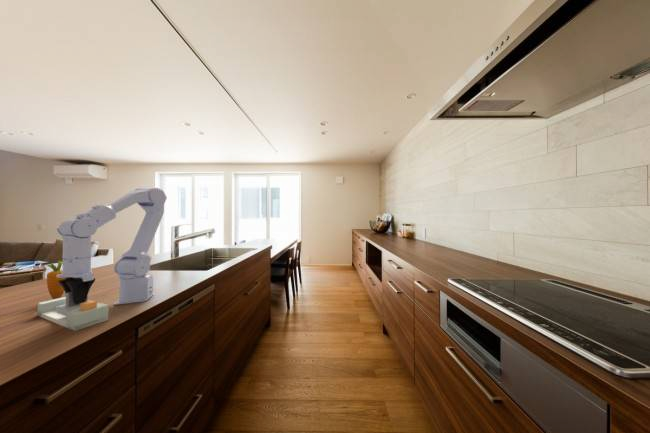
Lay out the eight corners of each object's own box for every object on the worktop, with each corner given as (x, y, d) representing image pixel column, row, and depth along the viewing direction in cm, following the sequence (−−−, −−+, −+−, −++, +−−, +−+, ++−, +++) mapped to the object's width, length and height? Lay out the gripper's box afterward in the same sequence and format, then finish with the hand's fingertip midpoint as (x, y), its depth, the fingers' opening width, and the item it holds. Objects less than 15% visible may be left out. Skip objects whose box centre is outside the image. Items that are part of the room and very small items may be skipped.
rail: (37, 315, 68) (37, 301, 68) (69, 307, 75) (70, 294, 75) (74, 330, 59) (75, 314, 59) (108, 319, 65) (108, 305, 65)
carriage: (57, 312, 64) (57, 292, 64) (85, 305, 70) (85, 286, 70) (66, 316, 62) (66, 295, 62) (95, 308, 67) (95, 289, 67)
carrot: (51, 304, 78) (52, 262, 78) (42, 303, 79) (42, 262, 79) (70, 299, 82) (70, 260, 83) (61, 298, 83) (61, 259, 84)
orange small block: (79, 317, 62) (79, 303, 62) (92, 313, 65) (92, 300, 65) (84, 318, 61) (84, 304, 61) (96, 314, 64) (96, 301, 64)
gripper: (46, 258, 65) (46, 303, 65) (68, 261, 59) (68, 310, 59) (80, 254, 71) (79, 295, 71) (103, 257, 66) (102, 301, 66)
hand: (76, 302), depth 66 cm, fingers open, 3 cm apart
